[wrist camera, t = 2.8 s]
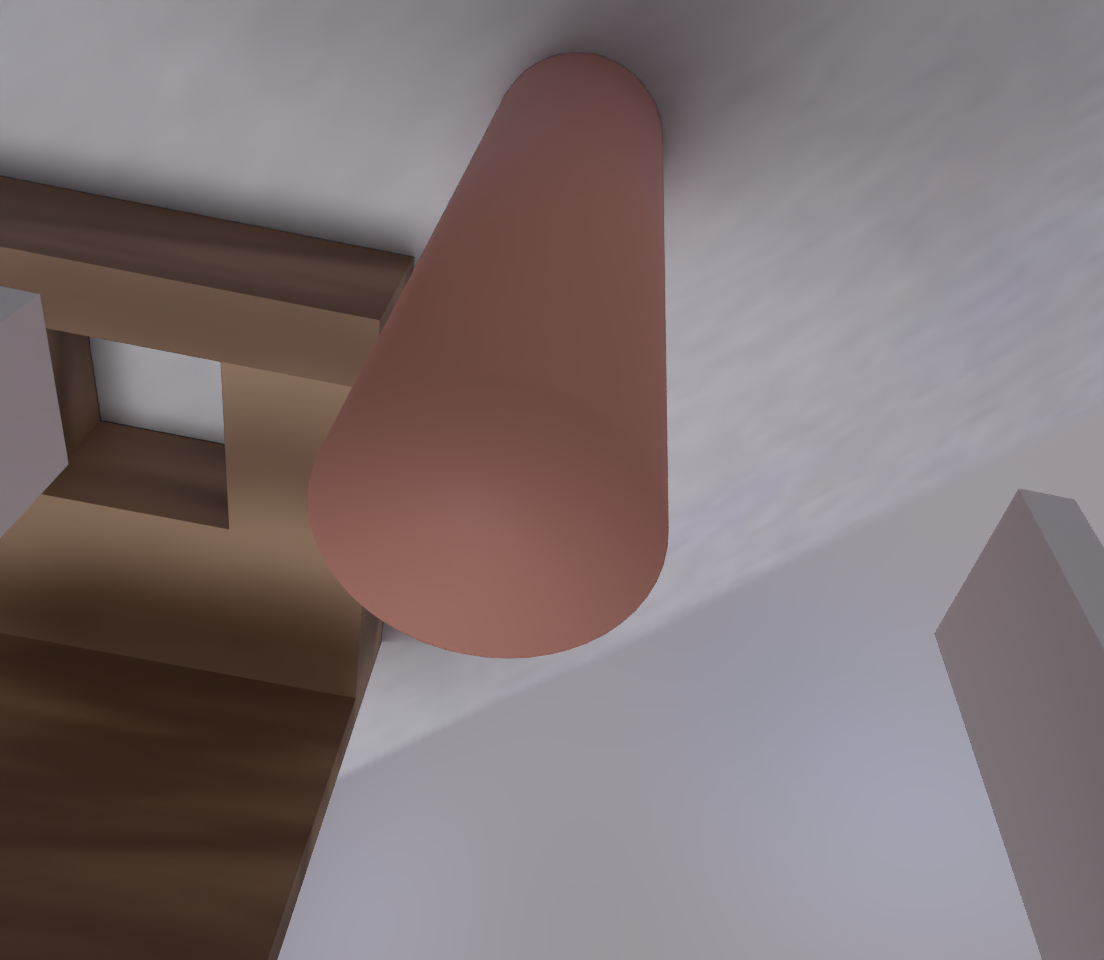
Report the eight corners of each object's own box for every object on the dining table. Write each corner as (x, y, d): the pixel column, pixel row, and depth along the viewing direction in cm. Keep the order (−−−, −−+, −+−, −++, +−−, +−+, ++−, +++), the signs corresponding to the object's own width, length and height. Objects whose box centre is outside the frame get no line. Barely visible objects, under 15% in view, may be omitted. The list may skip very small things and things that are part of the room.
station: (-97, 157, 26) (-1191, 672, 11) (431, 260, 27) (113, 903, 11) (6, 573, 36) (-495, 1166, 20) (393, 645, 36) (195, 1281, 21)
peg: (505, 36, 23) (309, 338, 10) (681, 72, 23) (710, 416, 10) (483, 208, 25) (305, 624, 13) (641, 240, 26) (625, 684, 13)
